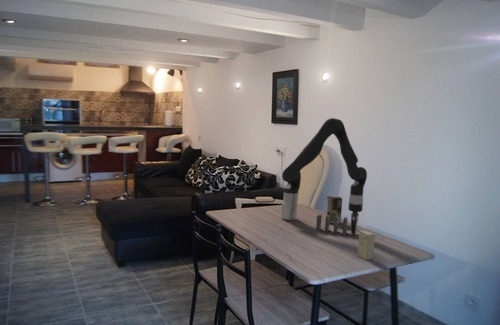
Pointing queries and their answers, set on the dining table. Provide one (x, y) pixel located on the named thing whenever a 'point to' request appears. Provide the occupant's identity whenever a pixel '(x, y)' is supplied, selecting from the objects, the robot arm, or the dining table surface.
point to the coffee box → (334, 208)
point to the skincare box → (366, 245)
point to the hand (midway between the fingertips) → (353, 231)
